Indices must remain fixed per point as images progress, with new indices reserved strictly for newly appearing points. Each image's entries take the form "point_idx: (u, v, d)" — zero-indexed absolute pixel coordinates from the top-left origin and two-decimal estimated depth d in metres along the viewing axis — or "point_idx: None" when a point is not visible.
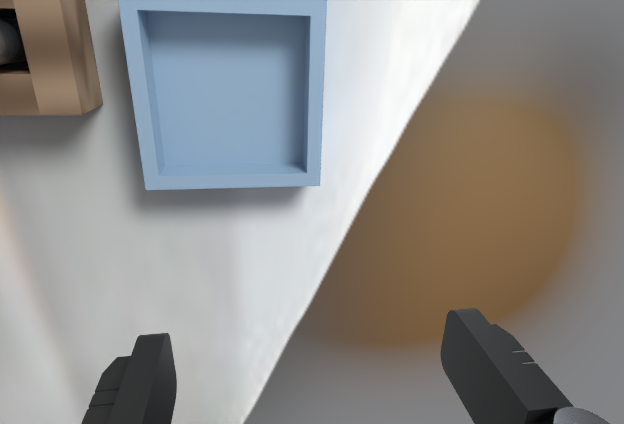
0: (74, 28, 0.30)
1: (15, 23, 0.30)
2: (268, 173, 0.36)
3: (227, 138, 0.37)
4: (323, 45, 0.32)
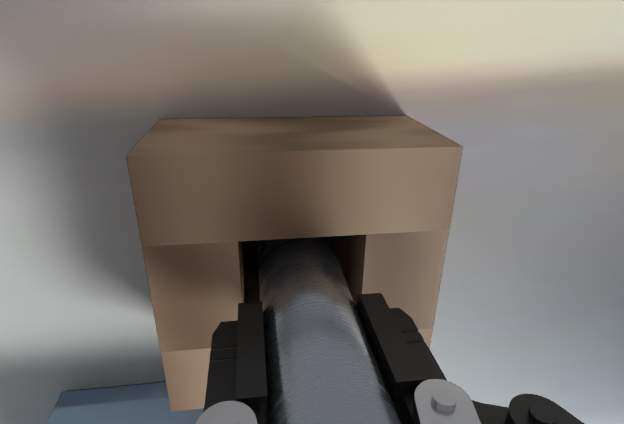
0: None
1: None
2: None
3: None
4: None
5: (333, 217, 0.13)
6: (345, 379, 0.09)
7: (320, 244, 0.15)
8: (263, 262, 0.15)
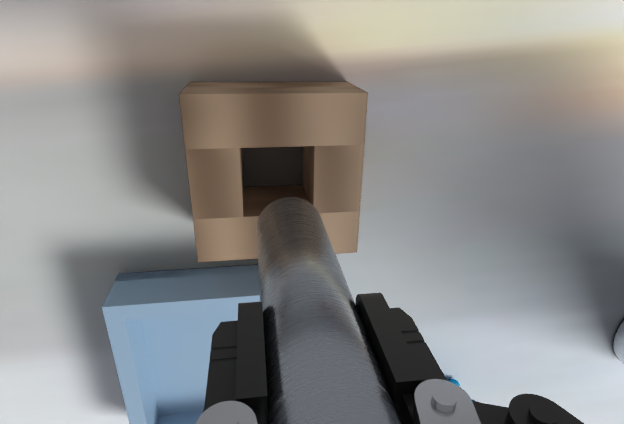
0: None
1: None
2: (146, 416, 0.31)
3: (179, 351, 0.33)
4: None
5: (294, 134, 0.23)
6: (345, 378, 0.09)
7: (320, 243, 0.15)
8: (263, 262, 0.15)
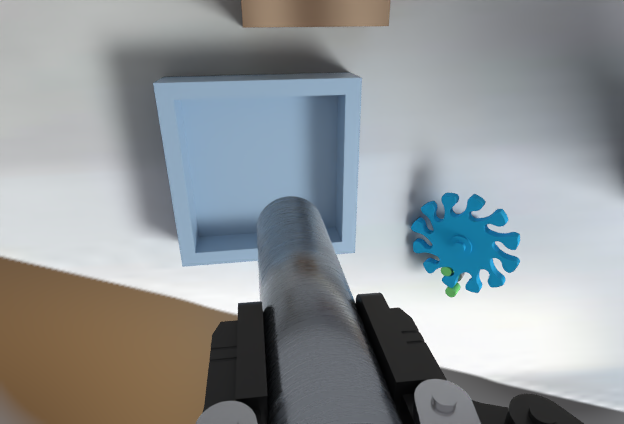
0: None
1: None
2: (190, 215, 0.33)
3: (218, 162, 0.35)
4: None
5: None
6: (345, 377, 0.09)
7: (320, 243, 0.15)
8: (263, 261, 0.15)
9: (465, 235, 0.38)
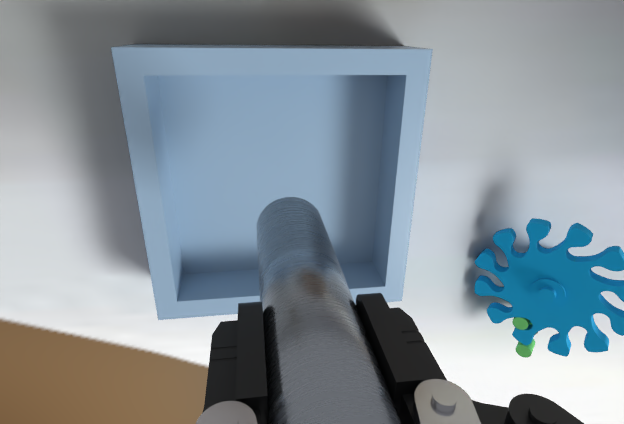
0: None
1: None
2: (169, 249, 0.23)
3: (213, 171, 0.24)
4: None
5: None
6: (345, 378, 0.09)
7: (320, 243, 0.15)
8: (263, 262, 0.15)
9: (557, 278, 0.27)
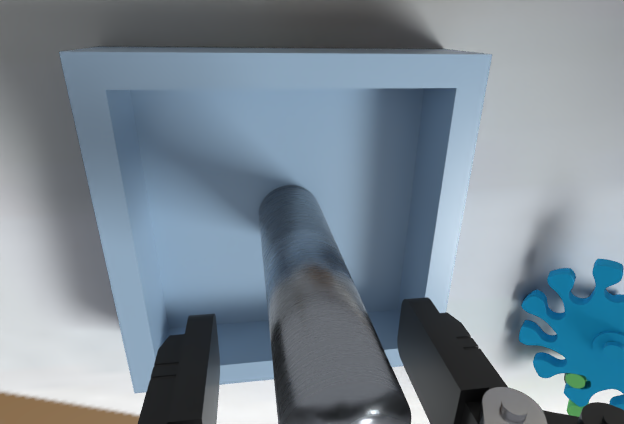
0: None
1: None
2: (147, 309, 0.18)
3: (204, 206, 0.19)
4: None
5: None
6: (343, 330, 0.10)
7: (319, 224, 0.16)
8: (266, 241, 0.16)
9: None
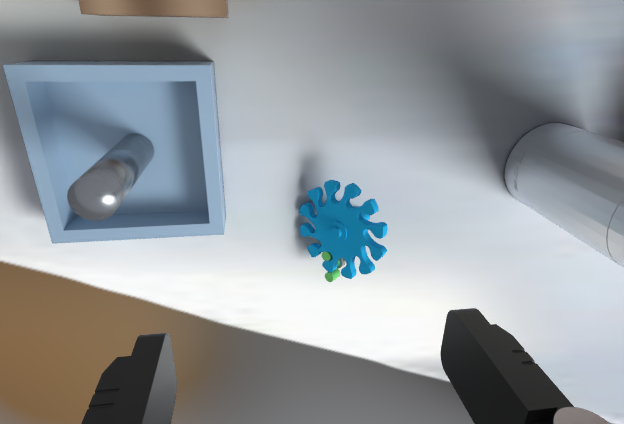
0: None
1: None
2: (55, 194, 0.35)
3: (88, 144, 0.37)
4: (187, 235, 0.38)
5: None
6: (100, 169, 0.27)
7: (131, 147, 0.33)
8: None
9: (342, 221, 0.40)
